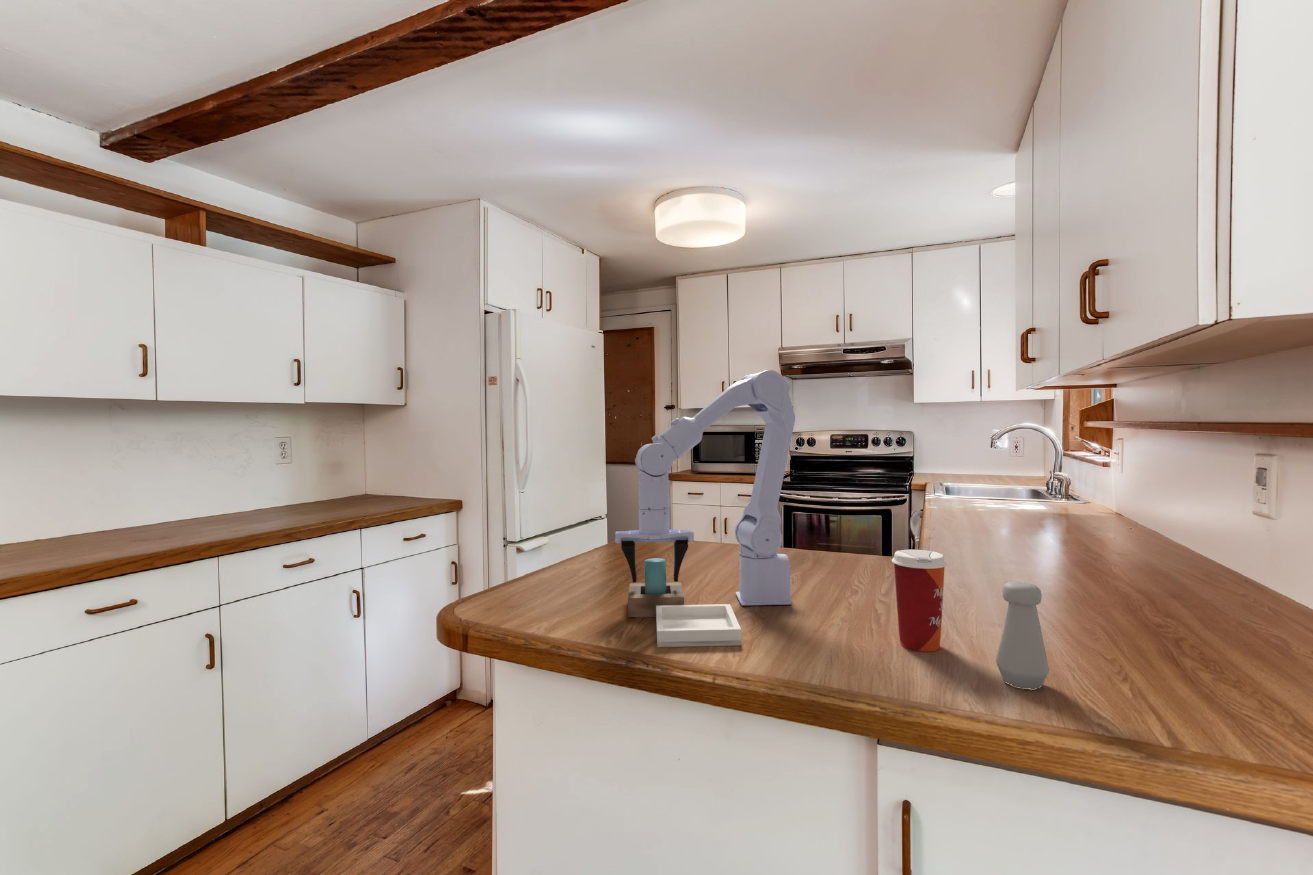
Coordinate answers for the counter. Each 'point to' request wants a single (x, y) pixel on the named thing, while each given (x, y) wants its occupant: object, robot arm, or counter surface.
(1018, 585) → the salt shaker
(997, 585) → the counter surface
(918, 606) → the paper cup
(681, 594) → the socket block
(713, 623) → the tray
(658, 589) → the dowel
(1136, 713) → the counter surface
